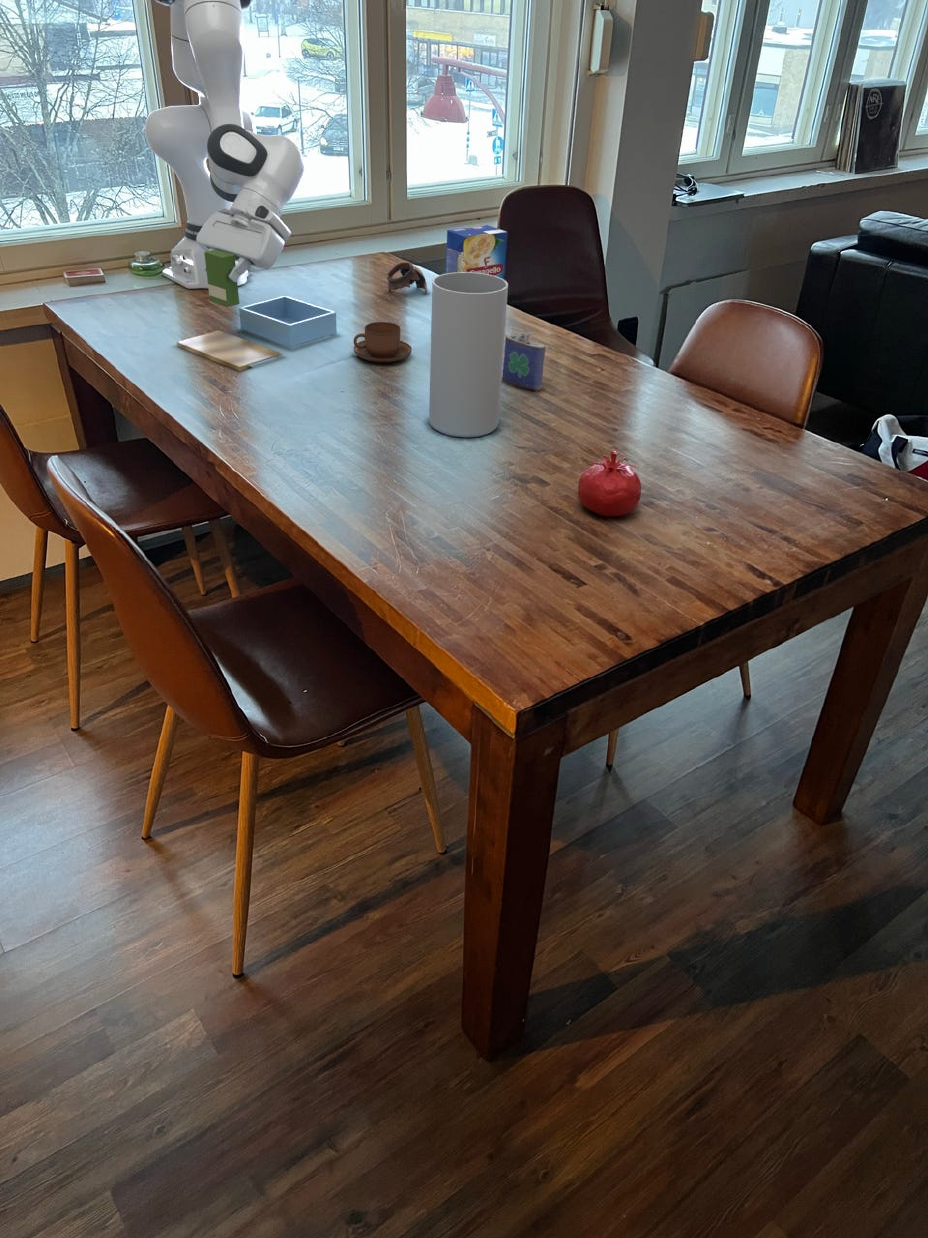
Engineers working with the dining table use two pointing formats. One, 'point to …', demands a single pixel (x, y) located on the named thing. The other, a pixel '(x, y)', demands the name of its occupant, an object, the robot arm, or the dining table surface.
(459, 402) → the cylinder vase
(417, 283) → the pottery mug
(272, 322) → the basin
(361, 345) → the cup and saucer
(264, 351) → the board
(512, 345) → the flask
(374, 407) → the dining table surface
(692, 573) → the dining table surface
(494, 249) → the blue food box
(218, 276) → the block
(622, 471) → the pomegranate
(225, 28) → the robot arm
